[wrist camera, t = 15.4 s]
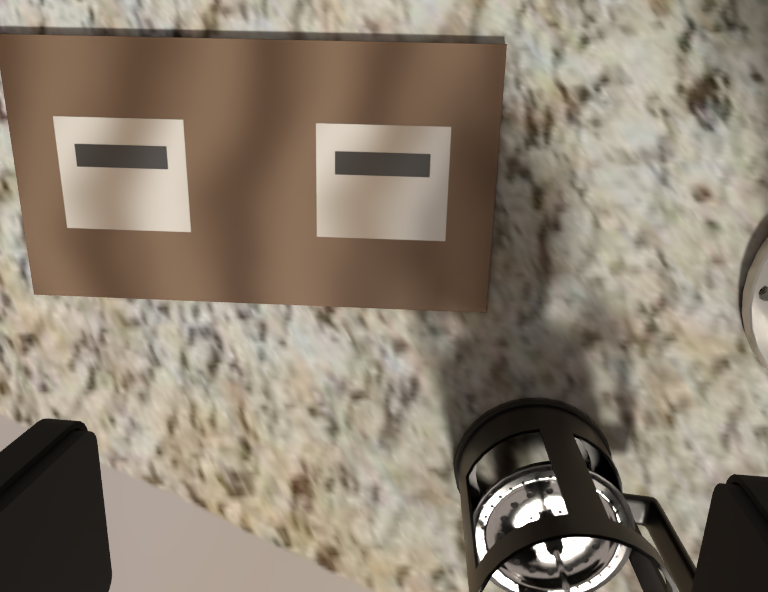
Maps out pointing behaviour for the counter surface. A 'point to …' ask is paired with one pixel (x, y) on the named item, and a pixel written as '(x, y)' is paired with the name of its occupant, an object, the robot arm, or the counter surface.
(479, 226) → the label board
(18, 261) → the counter surface
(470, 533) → the french press
